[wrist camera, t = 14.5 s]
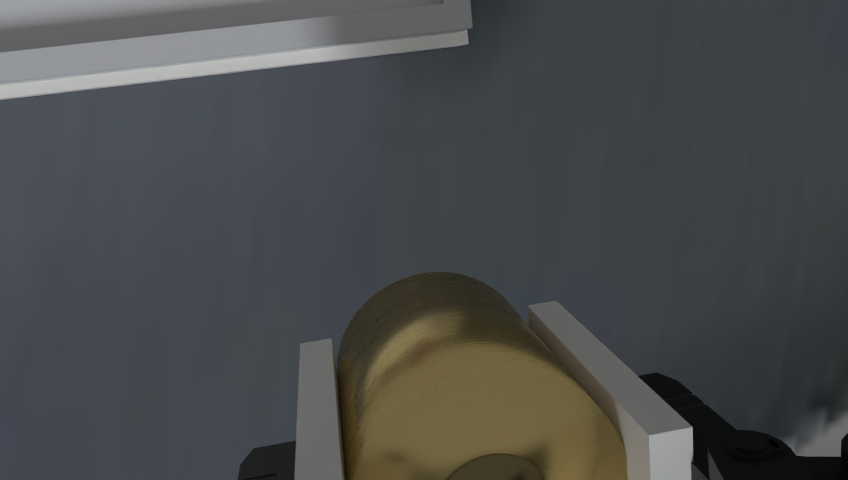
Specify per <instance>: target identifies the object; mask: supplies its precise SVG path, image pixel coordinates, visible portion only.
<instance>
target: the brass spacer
mask: <svg viewBox="0 0 848 480" xmlns="http://www.w3.org/2000/svg"><path fill="white" fill-rule="evenodd" d="M336 370H337V378H338V390H339V402H340V414H341V426H342V438H343V450H344V462H345V474H346V480H628V473H627V457H626V453H625V449H624V446H623V444H622V441H621V439H620V437H619V435H618V432H617V431H616V429H615V428H614V426H613V424H612V423H611V421H610V420H609V418H608V417H607V416H606V415H605V413H604V412H603V411H602V410H601V409H600V408H599V407H598V405H597V404H596V403H595V402H594V401H593V400H592V398H591V397H590V396H589V395H588V394H587V393H586V392H585V390H584V389H583V388H582V387H581V386H580V385H579V383H578V382H577V381H576V380H575V379H574V378H573V376H572V375H571V374H570V373H569V372H568V371H567V370H566V368H565V367H564V366H563V365H562V364H561V363H560V361H559V360H558V359H557V358H556V357H555V356H554V355H553V353H552V352H551V351H550V350H549V349H548V348H547V346H546V345H545V344H544V343H543V342H542V341H541V339H540V338H539V337H538V336H537V335H536V334H535V333H534V331H533V330H532V329H531V328H530V327H529V326H528V324H527V323H526V322H525V321H524V320H523V319H522V318H521V316H520V315H519V314H518V313H517V312H516V311H515V309H514V308H513V307H512V306H511V305H510V304H509V303H508V301H507V300H506V299H505V298H504V297H503V296H502V295H501V294H499V293H498V292H497V291H496V290H495V289H493V288H491V287H490V286H488V285H487V284H485V283H483V282H481V281H479V280H477V279H474V278H472V277H468V276H465V275H462V274H456V273H450V272H431V273H422V274H417V275H413V276H409V277H406V278H404V279H401V280H398V281H396V282H394V283H392V284H390V285H388V286H386V287H385V288H383V289H382V290H380V291H379V292H377V293H376V294H375V295H373V296H372V297H371V298H370V299H369V300H368V301H367V302H365V303H364V305H363V306H362V307H361V308H360V309H359V310H358V311H357V312H356V314H355V315H354V317H353V318H352V320H351V321H350V323H349V325H348V327H347V329H346V331H345V333H344V335H343V338H342V340H341V343H340V346H339V351H338V356H337V369H336Z"/></svg>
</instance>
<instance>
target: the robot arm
mask: <svg viewBox="0 0 848 480" xmlns="http://www.w3.org/2000/svg"><path fill="white" fill-rule="evenodd" d="M528 317H529V327H530V328H531V329H532V330H533V331H534V333H535V334H536V335H537V336H538V337H539V338H540V339H541V341H542V342H543V343H544V344H545V345H546V346H547V348H548V349H549V350H550V351H551V352H552V353H553V355H554V356H555V357H556V358H557V359H558V360H559V361H560V363H561V364H562V365H563V366H564V367H565V368H566V370H567V371H568V372H569V373H570V374H571V375H572V376H573V378H574V379H575V380H576V381H577V382H578V383H579V385H580V386H581V387H582V388H583V389H584V390H585V392H586V393H587V394H588V395H589V396H590V397H591V398H592V400H593V401H594V402H595V403H596V404H597V405H598V407H599V408H600V409H601V410H602V411H603V412H604V413H605V415H606V416H607V417H608V418H609V420H610V421H611V423H612V424H613V426H614V428H615V429H616V431H617V432H618V435H619V437H620V439H621V441H622V444H623V446H624V449H625V453H626V457H627V473H628V480H848V434H846V436H845V437H844V438H843V439H842V441H841V457H804V456H796V455H795V453H794V452H793V451H792V450H791V448H790V447H788V446H787V445H786V444H785V443H784V442H783V441H781V440H779V439H777V438H775V437H773V436H771V435H768V434H764V433H760V432H756V431H748V430H736V429H735V428H734V427H732V426H731V425H730V424H729V423H728V422H726V421H725V420H724V419H723V418H722V417H720V416H719V415H718V414H717V413H716V412H714V411H713V410H712V409H711V408H710V407H708V406H707V405H704V404H703V402H702V401H701V400H700V399H699V398H698V397H696V396H695V395H692V392H690V391H689V390H688V389H687V388H686V387H685V386H683V385H682V384H681V383H680V382H679V381H677V380H674V379H672V378H669V377H667V376H664V375H662V374H659V373H652V374H646V375H641V376H637V375H636V374H635V373H634V372H633V371H631V370H630V369H629V368H628V367H627V366H626V365H625V364H624V363H623V362H622V361H621V360H620V359H619V358H617V357H616V356H615V355H614V354H613V353H612V352H611V351H610V350H609V349H608V348H607V347H606V346H604V345H603V344H602V343H601V342H600V341H599V340H598V339H597V338H596V337H595V336H594V335H593V334H591V333H590V332H589V331H588V330H587V329H586V328H585V327H584V326H583V325H582V324H581V323H580V322H578V321H577V320H576V319H575V318H574V317H573V316H572V315H571V314H570V313H569V312H568V311H567V310H566V309H564V308H563V307H562V306H561V305H560V304H559V303H558V302H557V301H553V302H547V303H541V304H535V305H529V306H528ZM238 480H346V474H345V462H344V450H343V438H342V426H341V414H340V402H339V390H338V378H337V370H336V364H335V357H334V351H333V345H332V339H325V340H319V341H313V342H307V343H301V344H300V363H299V386H298V408H297V431H296V441H292V442H286V443H281V444H275V445H270V446H265V447H259V448H254V449H253V450H252V451H251V452H250V453H249V455H248V456H247V457H246V458H245V460H244V461H243V462H242V463H241V465H240V470H239V475H238Z"/></svg>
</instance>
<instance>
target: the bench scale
mask: <svg viewBox="0 0 848 480" xmlns="http://www.w3.org/2000/svg"><path fill="white" fill-rule="evenodd" d="M471 28H473V25H472V15H471V4H470V0H0V100H4V99H13V98H21V97H30V96H38V95H47V94H55V93H64V92H72V91H81V90H89V89H98V88H106V87H115V86H123V85H132V84H141V83H149V82H158V81H166V80H175V79H183V78H192V77H200V76H209V75H217V74H226V73H234V72H243V71H251V70H260V69H268V68H277V67H285V66H294V65H302V64H311V63H319V62H328V61H336V60H345V59H353V58H362V57H370V56H379V55H387V54H396V53H404V52H413V51H421V50H430V49H438V48H447V47H455V46H461V45H466V44H469V43H468V33H467V30H468V29H471Z"/></svg>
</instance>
